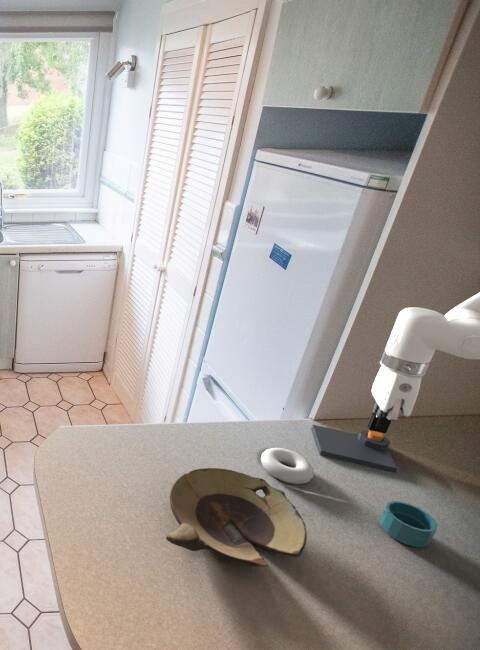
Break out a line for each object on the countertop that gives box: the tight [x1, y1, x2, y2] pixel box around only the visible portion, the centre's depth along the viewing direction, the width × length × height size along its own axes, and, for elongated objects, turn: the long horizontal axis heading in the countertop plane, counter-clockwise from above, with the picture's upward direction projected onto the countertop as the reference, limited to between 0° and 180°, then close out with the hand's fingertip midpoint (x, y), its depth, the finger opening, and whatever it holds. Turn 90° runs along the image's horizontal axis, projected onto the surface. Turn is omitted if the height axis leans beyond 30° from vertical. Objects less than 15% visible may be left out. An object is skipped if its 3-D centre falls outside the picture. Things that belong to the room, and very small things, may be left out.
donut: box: [260, 447, 315, 485], centre depth 102 cm, size 10×4×10 cm
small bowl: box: [378, 500, 439, 548], centre depth 86 cm, size 7×7×4 cm
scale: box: [310, 424, 399, 474], centre depth 108 cm, size 14×11×3 cm
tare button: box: [367, 430, 384, 442], centre depth 108 cm, size 3×3×2 cm
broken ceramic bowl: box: [165, 467, 308, 568], centre depth 87 cm, size 22×30×8 cm
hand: (376, 429), depth 107 cm, fingers closed
